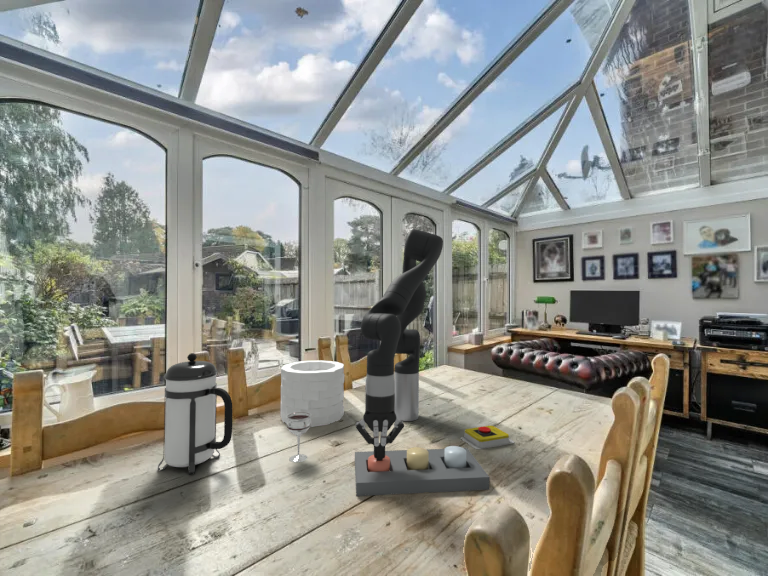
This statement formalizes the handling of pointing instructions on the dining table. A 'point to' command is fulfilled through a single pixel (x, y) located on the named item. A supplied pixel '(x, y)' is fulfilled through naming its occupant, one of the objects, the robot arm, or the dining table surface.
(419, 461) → the ochre button
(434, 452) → the control panel
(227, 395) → the coffee press
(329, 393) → the basket
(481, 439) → the emergency button
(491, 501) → the dining table surface
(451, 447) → the blue button
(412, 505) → the dining table surface
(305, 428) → the wineglass
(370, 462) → the red button
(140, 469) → the dining table surface
